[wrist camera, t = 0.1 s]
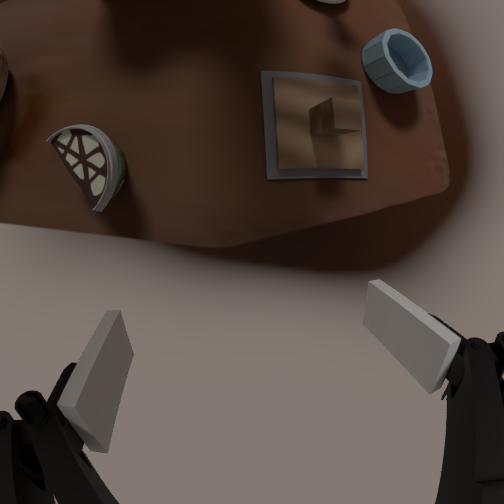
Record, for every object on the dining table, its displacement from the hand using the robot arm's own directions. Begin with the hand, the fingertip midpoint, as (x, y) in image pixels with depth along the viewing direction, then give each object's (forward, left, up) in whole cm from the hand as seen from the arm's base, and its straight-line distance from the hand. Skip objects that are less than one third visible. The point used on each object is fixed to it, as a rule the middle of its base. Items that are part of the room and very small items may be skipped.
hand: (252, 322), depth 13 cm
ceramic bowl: (-27, +31, -28) cm, 49 cm away
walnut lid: (-14, +16, -28) cm, 35 cm away
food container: (-11, -15, -28) cm, 34 cm away
